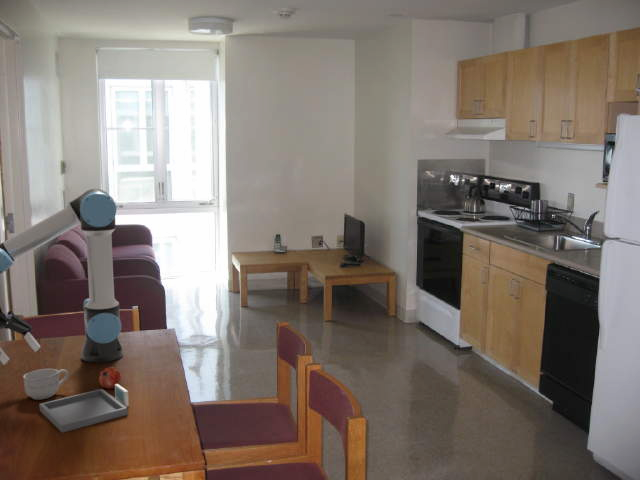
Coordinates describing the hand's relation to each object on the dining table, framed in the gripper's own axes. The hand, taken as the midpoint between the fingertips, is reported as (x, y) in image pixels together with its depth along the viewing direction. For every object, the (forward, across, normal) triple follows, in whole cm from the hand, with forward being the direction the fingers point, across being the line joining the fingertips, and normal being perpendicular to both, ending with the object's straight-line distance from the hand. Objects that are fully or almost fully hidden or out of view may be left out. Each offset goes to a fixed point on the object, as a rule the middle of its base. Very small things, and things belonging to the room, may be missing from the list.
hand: (22, 355), depth 228 cm
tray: (+29, +6, +12) cm, 32 cm away
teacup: (+15, -1, -3) cm, 16 cm away
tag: (+34, -5, +16) cm, 38 cm away
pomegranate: (+26, -14, +8) cm, 30 cm away
